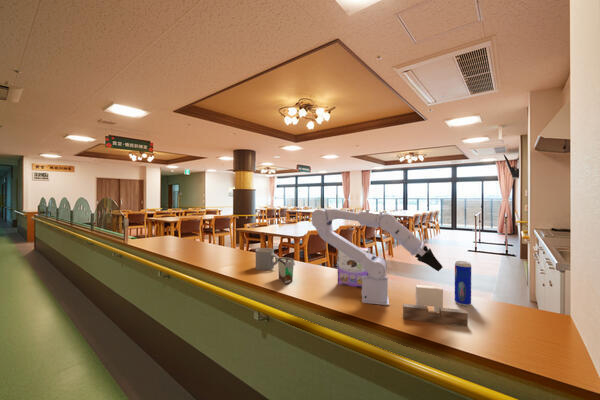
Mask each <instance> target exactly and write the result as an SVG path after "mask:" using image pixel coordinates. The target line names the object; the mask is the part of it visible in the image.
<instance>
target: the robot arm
mask: <svg viewBox="0 0 600 400" xmlns="http://www.w3.org/2000/svg"><path fill="white" fill-rule="evenodd" d="M310 218H311V225H312V226H313V227H314V228H315V230H316V231H317V234H318V235H319V237H320V238H321V239H322V240H323V241H324V242H326V243H327V244H328V245H330V246H332V247H333V248H335V249H336V250H337V249H338V250H340V251H341V252H343V253H344V254H346V255H347V256H349V257H350V258H352V259H353V260H355V261H356V262H358V263H359V264H360V265H361V266H362V268H363V269H364V270H366V271H367V272H368V276H363V277H362V288H361V292H360V293H361V302H362V304H370V305H373V304H374V305H381V306H389V305H390V301H389V296H388V294H389V291H388V287H389V286H388V283H389V282H388V279H389V278H388V275H387V273H386V271H387V269H388V263H387V260H386V259H385V258H383V257H382V256H376V255H374V254H372V253H371V252H370V253H367V252H365V251H364V250H362V249H360V248H361V247H360V246H358V245H356V244H355V243H353V242H351V241H350V240H348V239H346V238H345V237H343V236H341V235H340V234H338V233H337V232H335V231H334V230H333V221H334V220H337V219H339V220H344V221H345V220H347V221H354V222H358V223H359V225H360V226H365V227H371V228H376V229H378V228H380V229H381V230H383V231H386V232H388V234H389V235H391V237H392V238H393V239H394V240H395V241H396V242H397V243H399V244H400V245H401V246H402V247H403V248H404V249H405V250H407V252H409V253H410V255H411V256H414V257H415V258H416V259H417V261H418V262H421V263H422V264H423V263H424V264H426V266H427V265H428V266H429V267H431V268H432V269H433V270H435V271H437V272H440V271H441V270H442V269H443V265H442V264H441V262H440V261H439V260H438V259H437V258H436V256H435V255H434V253H433V251H432V249H431V248H428V246H427V245H425V244H427V240H426V239H424V240H423V241H422V240H421V239H420V238H419V237H417V236H416V235H415V234H414V233H413V232H412V231H410V230H409V229H408V228H407V227H406V226H405V225H404V224H402V223H401V222H400V221H398V220H396V217H395V216H394V215H393V214H391V213H388V212H386V213H383V211H379V212H376V211H371V210H370V209H367V208H366V209H365V210H364V209H363V210H361V211H360V212H354V211H349V210H343V209H338V208H323V209H316V210H314V211H313V212H312V214H311V217H310Z"/></svg>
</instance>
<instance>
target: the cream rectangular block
mask: <svg viewBox="0 0 600 400" xmlns="http://www.w3.org/2000/svg"><path fill="white" fill-rule="evenodd" d="M415 305H422V306H427V307H433V311H434V313H438V314H439V307H441V308H444V289H443V287H441V286H432V285H430V286H429V285H420V284H419V285H418V284H416V285H415Z"/></svg>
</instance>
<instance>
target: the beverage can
mask: <svg viewBox="0 0 600 400" xmlns="http://www.w3.org/2000/svg"><path fill="white" fill-rule="evenodd" d="M454 302H455V303H456V304H457V305H460V306H464V307H465V306H467V307H468V306H470V305H471V304H472V264H471V262H469V261H464V260H458V261H455V262H454Z"/></svg>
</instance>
